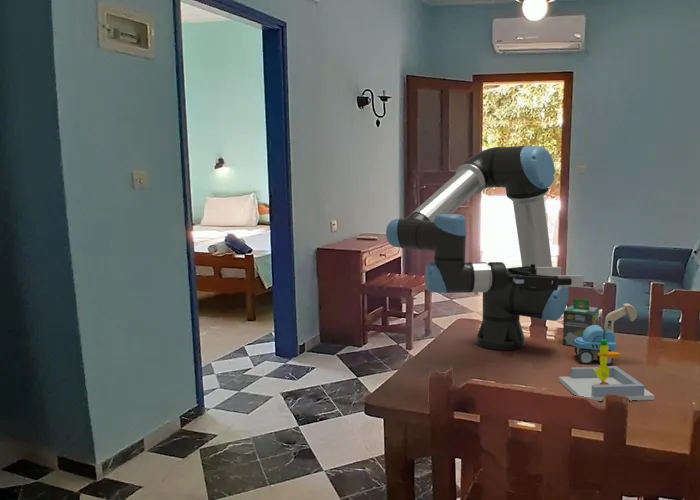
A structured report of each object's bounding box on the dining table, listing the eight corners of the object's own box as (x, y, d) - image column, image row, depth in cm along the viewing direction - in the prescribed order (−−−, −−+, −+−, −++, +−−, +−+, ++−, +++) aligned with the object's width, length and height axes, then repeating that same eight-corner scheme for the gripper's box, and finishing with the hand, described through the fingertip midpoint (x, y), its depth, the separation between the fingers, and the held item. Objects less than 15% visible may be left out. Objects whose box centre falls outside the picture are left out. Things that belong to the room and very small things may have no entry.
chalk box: (598, 342, 204) (600, 297, 202) (591, 349, 196) (593, 302, 194) (569, 338, 209) (570, 294, 207) (561, 344, 202) (563, 299, 200)
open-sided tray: (581, 402, 154) (582, 387, 153) (559, 381, 169) (559, 367, 168) (653, 399, 154) (654, 385, 154) (625, 379, 169) (625, 365, 169)
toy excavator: (637, 367, 179) (640, 308, 177) (576, 364, 182) (578, 306, 180) (630, 358, 187) (633, 301, 185) (571, 355, 191) (573, 299, 188)
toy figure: (616, 383, 163) (619, 338, 161) (621, 388, 159) (623, 342, 158) (589, 382, 163) (591, 337, 162) (593, 387, 160) (595, 341, 158)
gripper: (474, 283, 169) (551, 282, 170) (502, 302, 144) (592, 300, 146) (475, 255, 168) (552, 255, 169) (503, 269, 143) (594, 268, 145)
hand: (571, 276), depth 157 cm, fingers open, 13 cm apart
